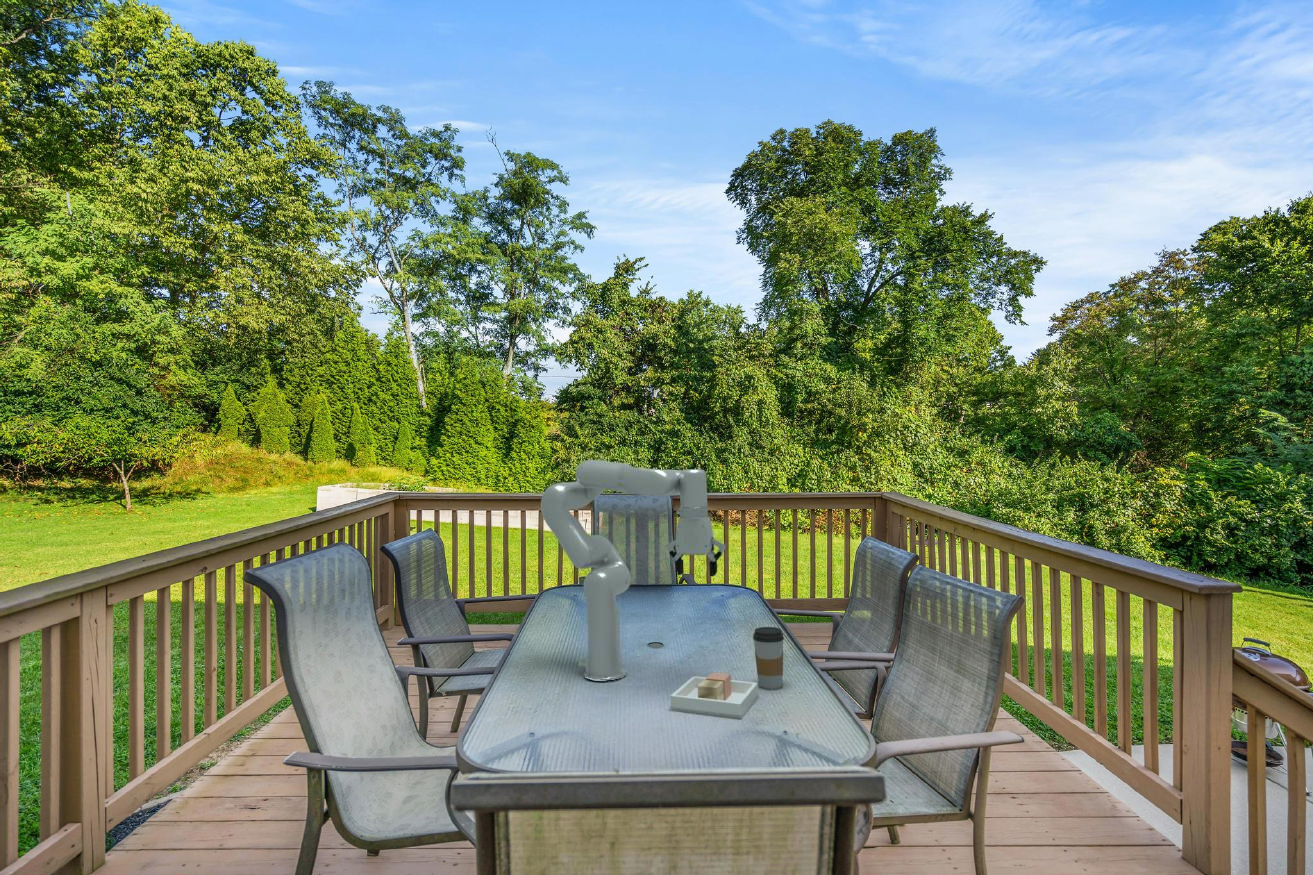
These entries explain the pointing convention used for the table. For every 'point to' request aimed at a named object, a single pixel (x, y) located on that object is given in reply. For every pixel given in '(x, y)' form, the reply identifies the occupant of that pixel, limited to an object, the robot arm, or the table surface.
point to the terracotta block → (726, 682)
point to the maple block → (711, 690)
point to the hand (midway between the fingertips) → (696, 574)
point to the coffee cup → (769, 657)
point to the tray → (730, 708)
